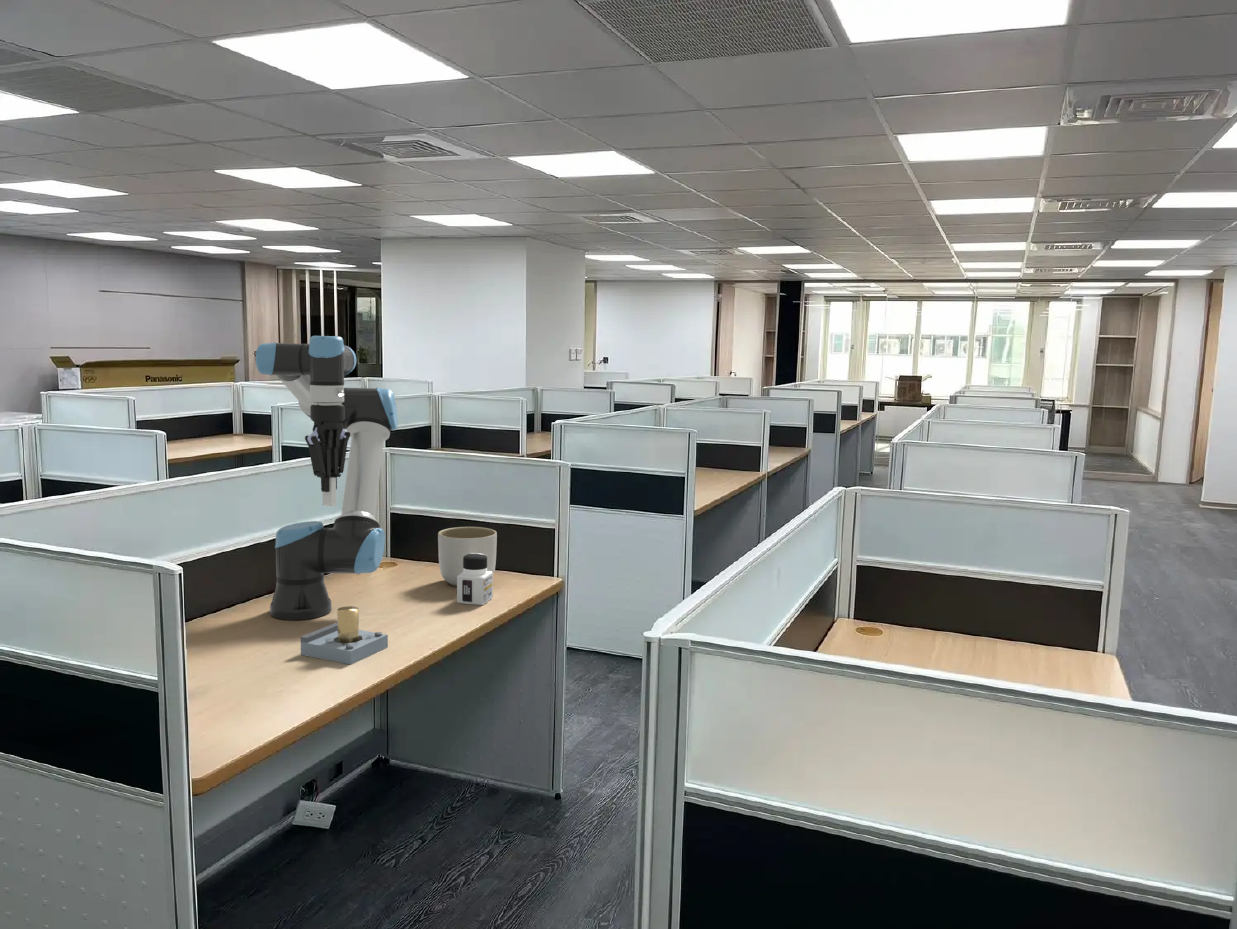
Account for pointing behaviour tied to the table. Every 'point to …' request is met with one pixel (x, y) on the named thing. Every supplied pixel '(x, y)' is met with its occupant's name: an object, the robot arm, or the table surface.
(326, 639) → the jig
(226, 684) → the table surface
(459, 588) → the container
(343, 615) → the brass cylinder
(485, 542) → the planter
